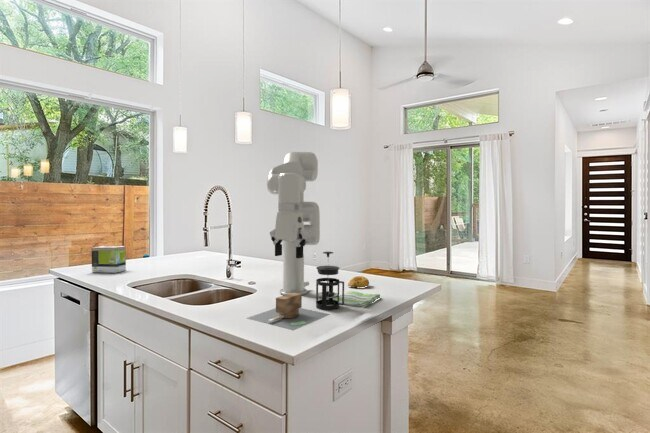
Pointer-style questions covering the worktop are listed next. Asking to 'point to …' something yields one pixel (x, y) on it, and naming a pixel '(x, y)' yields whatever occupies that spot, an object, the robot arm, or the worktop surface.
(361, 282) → the bagel
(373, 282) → the worktop surface
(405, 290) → the worktop surface
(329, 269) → the french press
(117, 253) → the tea box
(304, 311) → the dial plate
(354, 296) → the dish towel
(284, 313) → the knob
